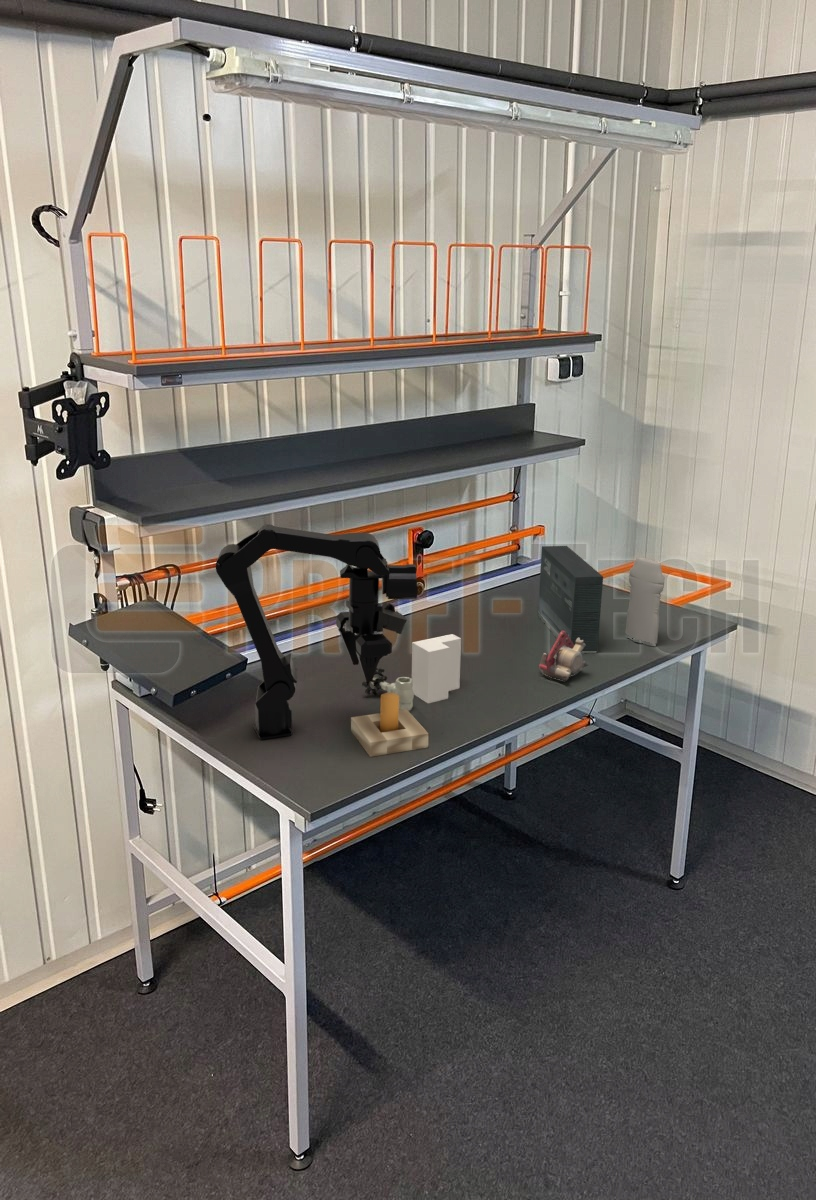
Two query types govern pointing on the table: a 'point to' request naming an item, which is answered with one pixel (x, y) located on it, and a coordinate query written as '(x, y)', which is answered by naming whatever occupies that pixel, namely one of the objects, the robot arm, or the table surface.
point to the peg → (389, 712)
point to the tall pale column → (644, 600)
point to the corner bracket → (436, 667)
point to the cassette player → (570, 595)
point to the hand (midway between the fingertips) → (362, 672)
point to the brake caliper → (563, 658)
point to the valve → (393, 688)
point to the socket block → (389, 734)
